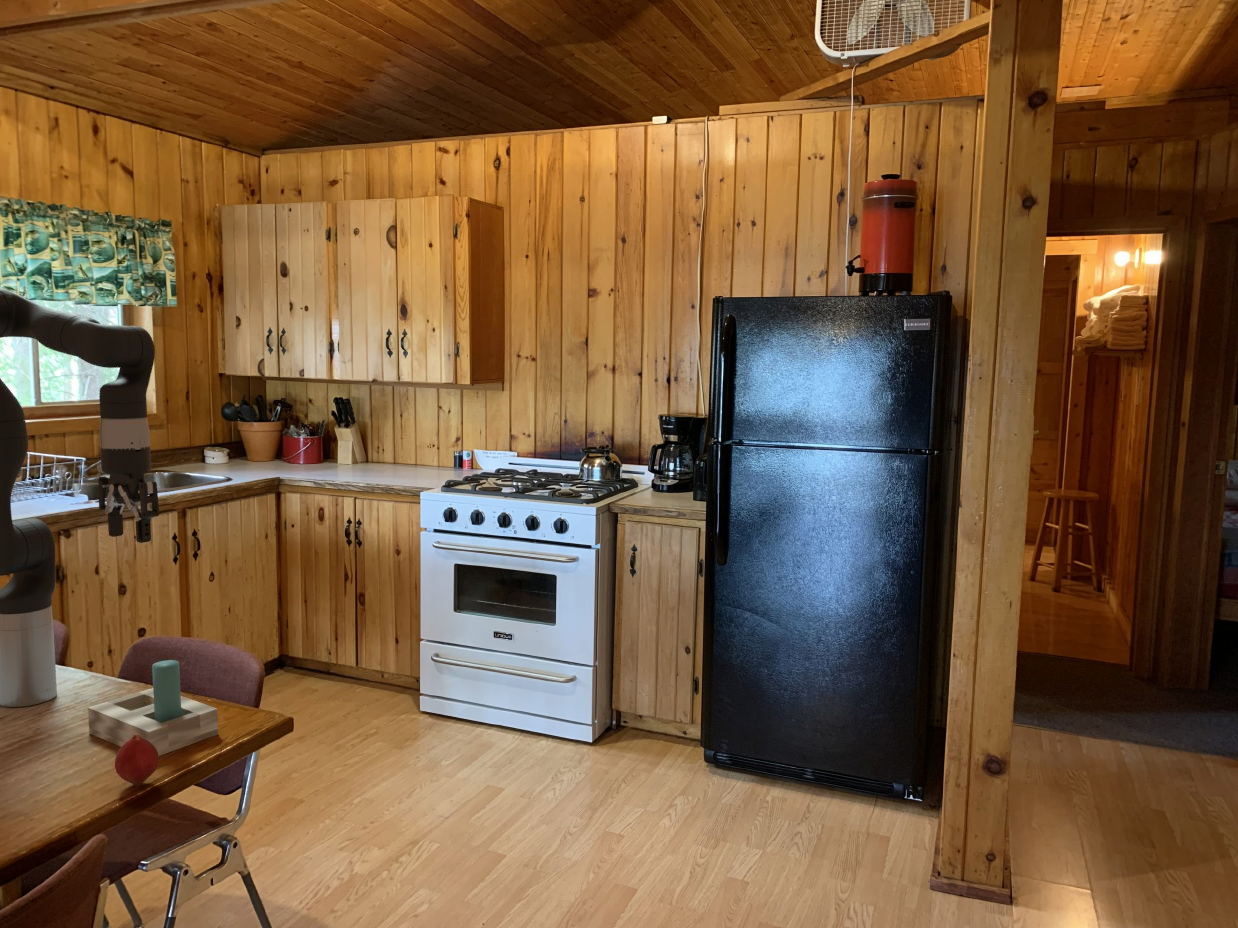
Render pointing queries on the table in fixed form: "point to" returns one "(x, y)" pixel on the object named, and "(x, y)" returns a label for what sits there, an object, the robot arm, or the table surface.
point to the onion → (136, 760)
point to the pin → (166, 690)
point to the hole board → (152, 722)
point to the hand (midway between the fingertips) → (129, 538)
